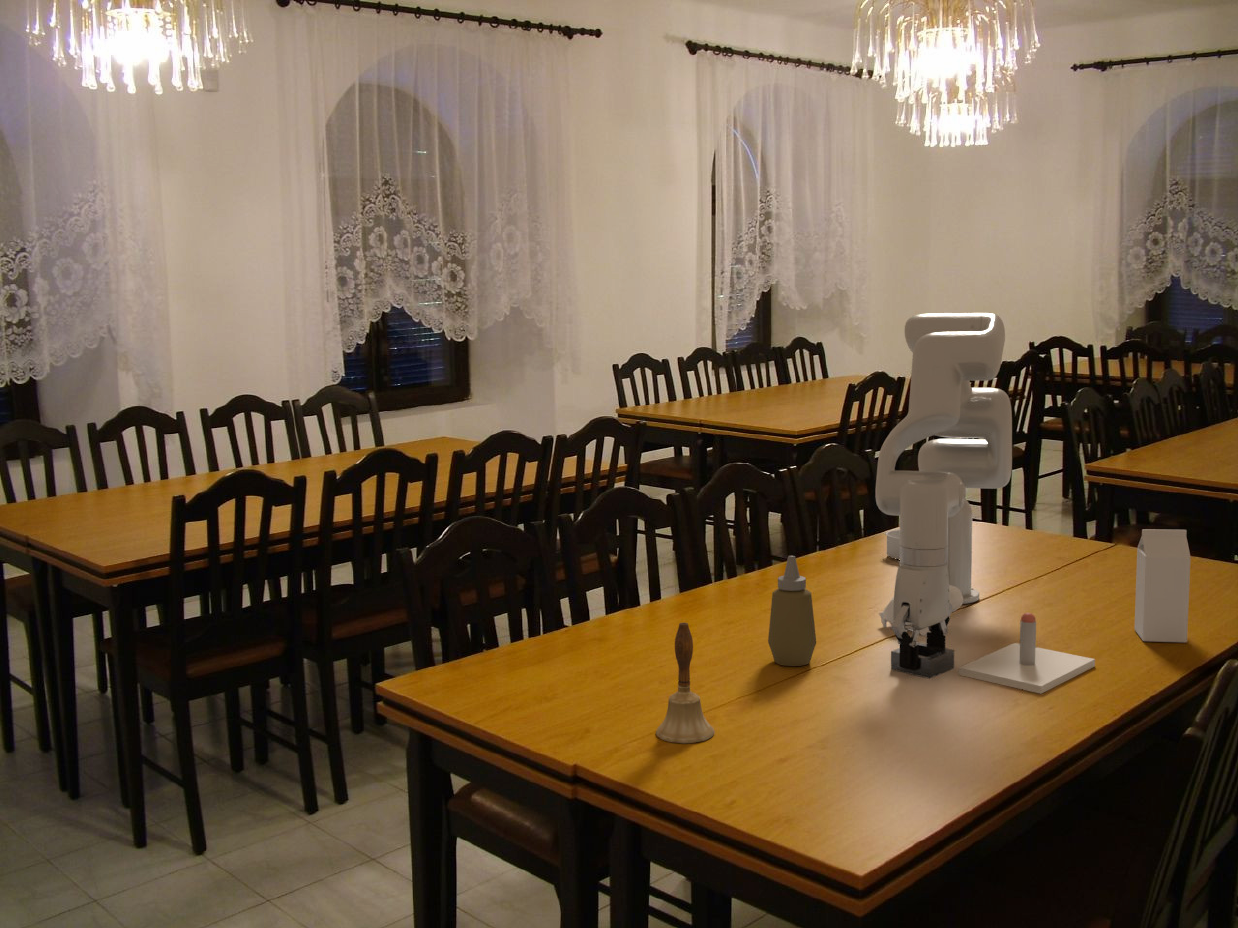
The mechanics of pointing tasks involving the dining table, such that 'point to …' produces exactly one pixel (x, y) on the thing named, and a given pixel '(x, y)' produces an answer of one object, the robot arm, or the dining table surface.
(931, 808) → the dining table surface
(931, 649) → the grey square socket block
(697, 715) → the hand bell
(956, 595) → the white turtle figurine
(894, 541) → the saucepan
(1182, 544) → the milk carton
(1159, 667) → the dining table surface
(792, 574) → the squeeze bottle
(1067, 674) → the white peg stand
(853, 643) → the dining table surface
